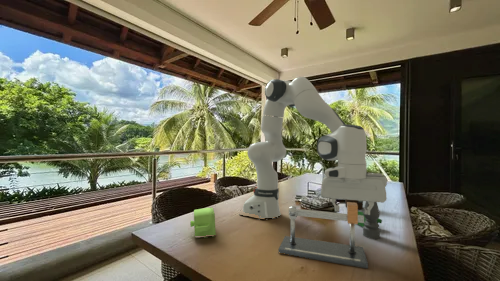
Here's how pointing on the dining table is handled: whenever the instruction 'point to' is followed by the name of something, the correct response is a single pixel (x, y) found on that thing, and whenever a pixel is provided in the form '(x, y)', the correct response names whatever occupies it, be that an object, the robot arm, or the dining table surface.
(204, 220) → the gearbox
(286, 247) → the bolt plate
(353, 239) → the leg
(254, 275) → the dining table surface
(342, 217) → the dividers frame
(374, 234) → the candle holder
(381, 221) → the clamp
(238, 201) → the dining table surface
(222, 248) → the dining table surface
